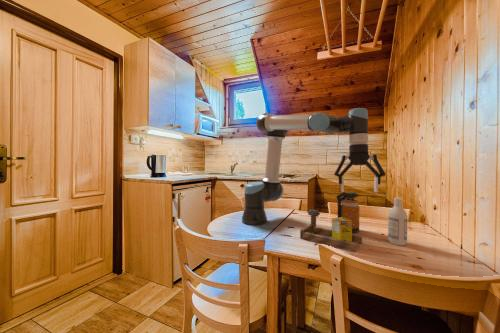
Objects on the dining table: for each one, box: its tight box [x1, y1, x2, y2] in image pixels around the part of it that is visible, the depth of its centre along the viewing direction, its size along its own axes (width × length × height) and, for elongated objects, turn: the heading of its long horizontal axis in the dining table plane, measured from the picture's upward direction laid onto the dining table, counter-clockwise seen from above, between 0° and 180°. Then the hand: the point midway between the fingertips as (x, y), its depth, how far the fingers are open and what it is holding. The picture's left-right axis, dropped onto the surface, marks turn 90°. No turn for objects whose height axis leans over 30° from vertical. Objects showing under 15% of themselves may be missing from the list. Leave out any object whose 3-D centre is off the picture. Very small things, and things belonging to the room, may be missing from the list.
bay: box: [299, 208, 363, 253], centre depth 100 cm, size 26×15×11 cm, turn 50°
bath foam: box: [387, 197, 409, 246], centre depth 95 cm, size 7×7×20 cm
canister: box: [335, 191, 361, 233], centre depth 112 cm, size 9×11×20 cm
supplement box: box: [331, 216, 353, 243], centre depth 95 cm, size 6×6×11 cm
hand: (359, 191), depth 96 cm, fingers open, 13 cm apart
